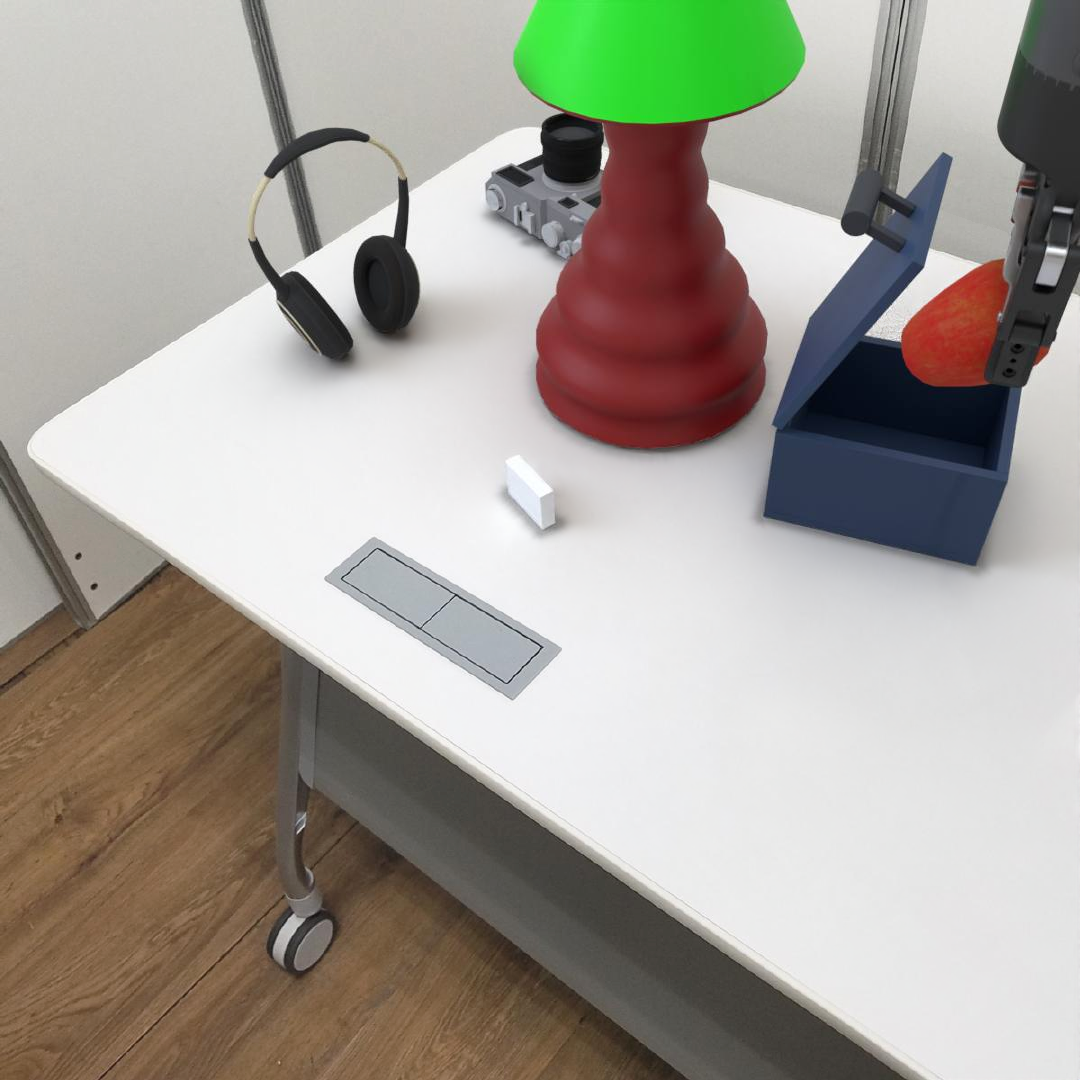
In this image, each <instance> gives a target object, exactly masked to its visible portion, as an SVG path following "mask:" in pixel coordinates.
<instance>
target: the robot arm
mask: <svg viewBox="0 0 1080 1080" xmlns="http://www.w3.org/2000/svg"><path fill="white" fill-rule="evenodd" d="M996 131H997V137H998V139H999V141H1000V143H1001V144H1002V146H1003V147H1004V148H1005V149H1006V151H1007V152H1008V153H1009V154H1010V155H1012V157H1014V158H1015V159H1017V160H1018V161H1019V162H1021V163H1022V164H1021V165H1022V166H1021V169H1020V171H1019V172H1020V173H1019V177H1018V181H1017V185H1016V190H1015V193H1017V194H1016V197H1015V200H1014V205H1013V209H1012V212H1011V217H1010V222H1011V223H1012V224H1014V226H1013V227H1012V229H1011V231H1010V232H1011V233H1010V240H1009V244H1008V248H1007V251H1006V254H1005V261H1004V265H1003V269H1002V275H1003V278H1004V280H1005V281H1006V282H1007V283H1008V284H1009V286H1008V290H1007V293H1006V297H1005V300H1004V304H1003V308H1002V311H999V313H998V316H997V321H999V323H998V326H997V330H996V332H997V333H996V336H995V339H994V342H993V345H992V348H991V351H990V354H989V357H988V360H987V364H986V367H985V372H984V379H985V380H986V381H987V382H988V383H991V384H996V385H1002V386H1007V387H1013V388H1021V387H1022V388H1024V387H1025V386H1026V385H1027V384H1028V383H1029V380H1030V377H1031V373H1032V371H1033V369H1034V367H1035V366H1034V363H1035V360H1036V358H1037V355H1038V352H1039V349H1040V347H1044V348H1050V349H1051V347H1050V346H1052V345H1053V343H1055V342H1056V339H1057V335H1058V331H1057V330H1058V329H1059V326H1060V323H1061V321H1062V318H1063V316H1064V313H1065V311H1066V308H1067V306H1068V304H1069V300H1070V298H1071V296H1072V293H1073V291H1074V288H1075V287H1076V285H1077V282H1078V279H1079V275H1080V0H1030V1H1029V5H1028V9H1027V12H1026V15H1025V20H1024V23H1023V27H1022V31H1021V34H1020V38H1019V41H1018V44H1017V49H1016V52H1015V56H1014V60H1013V63H1012V67H1011V70H1010V75H1009V77H1008V82H1007V85H1006V89H1005V92H1004V95H1003V100H1002V103H1001V107H1000V110H999V113H998V119H997V123H996ZM1033 366H1034V367H1033Z"/></svg>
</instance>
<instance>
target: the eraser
mask: <svg viewBox="0 0 1080 1080" xmlns="http://www.w3.org/2000/svg"><path fill="white" fill-rule="evenodd" d="M504 467H505V475H506V485H507V493H508V495H509V496H510V497H511V498H512V499H513V500H514V501H515V502H516V503H517V505H518V506H519V507H520V508H521V509H522V510H523V511H524V512H525V513H526V514H527V516H529V518H531V519H532V520H533V521H534V522H535V524H536V525H537V527H539V528H540V529H541V530H542V531H543V530H545V529H547V528H549V527H551V526H553V525H554V524H556V510H555V498H554V497H555V494H554V493H555V492H554V489H552V487H551V486H550V485H548V483H546V481H545V480H544V479H543V478H542V477H541V476H540V475H539V474H538V473H537V472H536V471H535V470H534V469H533V468H532V467H531V466H530V465H529V464H528V463H527V462H526V461H525V460H524V459H523V458H522V457H521V456H520V455H519V454H515V455H514V456H512V457H510V458H508V459H506V460H504Z"/></svg>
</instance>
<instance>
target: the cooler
mask: <svg viewBox="0 0 1080 1080" xmlns="http://www.w3.org/2000/svg"><path fill="white" fill-rule="evenodd" d="M1022 389H1023V387H1021V388H1013V387H1007V386H1002V385H996V384H991V383H990V384H986V385H977V386H932V385H929V384H926V383H924V382H922V381H921V380H920V379H918V378H917V377H916V376H914V375H913V374H912V373H911V371H910V370H909V369H908V367H907V366H906V363H905V361H904V358H903V353H902V348H901V341H897V340H893V339H888V338H882V337H877V336H872V335H871V336H870V335H866V334H865V335H864V337H863V338H862V339H861V340H860V341H859V342H858V343H857V344H856V346H855V347H854V348H853V349H852V350H851V351H850V352H849V354H848V355H847V356H846V357H845V358H844V359H843V360H842V362H841V363H840V364H839V365H838V366H837V367H836V368H835V370H834V371H833V372H832V373H831V374H830V375H829V376H828V377H827V379H826V380H825V381H824V382H823V383H822V384H821V385H820V387H819V388H818V389H817V390H816V391H815V392H814V393H813V395H812V396H811V397H810V398H809V399H808V400H807V401H806V402H805V404H804V405H803V406H802V407H801V408H800V409H799V410H798V412H797V413H796V414H795V415H794V416H793V417H792V418H791V420H790V421H789V422H788V423H787V424H786V425H785V426H784V428H783V429H782V430H779V429H778V428H776V430H775V433H774V439H773V440H774V441H773V447H772V453H771V460H770V466H769V467H770V468H769V474H768V482H767V488H766V494H765V501H764V509H763V517H764V518H769V519H772V520H773V519H774V520H778V521H781V522H786V523H790V524H794V525H799V526H803V527H806V528H807V527H808V528H811V529H815V530H821V531H825V532H829V533H833V534H837V535H842V536H845V537H849V538H855V539H859V540H862V541H867V542H871V543H874V544H880V545H883V546H888V547H892V548H897V549H901V550H906V551H909V552H914V553H919V554H922V555H927V556H930V557H935V558H940V559H944V560H948V561H951V562H952V561H953V562H956V563H960V564H964V565H969V566H974V567H975V566H977V563H978V561H979V558H980V555H981V553H982V550H983V547H984V545H985V542H986V539H987V537H988V535H989V532H990V530H991V527H992V524H993V522H994V520H995V516H996V514H997V511H998V509H999V506H1000V503H1001V501H1002V498H1003V496H1004V493H1005V491H1006V487H1007V485H1008V481H1009V477H1010V476H1009V475H1010V469H1011V468H1010V467H1011V464H1012V463H1011V462H1012V455H1013V451H1014V450H1013V449H1014V442H1015V435H1016V429H1017V423H1018V416H1019V409H1020V404H1021V403H1020V402H1021V396H1022Z"/></svg>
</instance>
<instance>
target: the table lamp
mask: <svg viewBox="0 0 1080 1080" xmlns="http://www.w3.org/2000/svg"><path fill="white" fill-rule="evenodd" d="M806 50H807V47H806V45H805V41H804V38H803V36H802V33H801V30H800V29H799V26H798V24H797V21H796V19H795V17H794V15H793V13H792V10H791V8H790V5H789V3H788V1H787V0H536V1H535V4H534V6H533V8H532V10H531V12H530V15H529V17H528V19H527V21H526V24H525V25H524V28H523V30H522V32H521V34H520V37H519V39H518V41H517V43H516V45H515V47H514V49H513V59H512V60H513V61H512V65H513V68H514V70H515V73H516V75H517V78H518V80H519V81H520V83H521V84H522V85H523V86H524V87H525V88H526V90H527V91H528V92H529V93H530V94H531V95H532V96H533V97H535V98H536V99H538V100H539V101H541V102H542V103H543V104H545V105H547V106H548V107H550V108H553V109H555V110H557V111H559V112H561V113H566V114H568V115H571V116H575V117H578V118H582V119H586V120H589V121H593V122H598V123H602V124H603V132H604V138H605V140H606V145H607V147H608V156H607V159H606V162H605V164H604V167H603V169H602V170H603V173H602V177H601V181H600V190H601V204H600V205H599V207H598V208H597V209H596V210H595V211H594V213H593V214H592V215H591V217H590V219H589V220H588V222H587V223H586V225H585V227H584V231H583V234H582V239H581V248H580V249H579V250H578V251H577V252H576V253H575V254H574V255H573V254H572V255H573V256H572V257H571V258H570V259H569V260H567V261H566V263H565V265H564V266H563V268H562V269H561V271H560V272H559V276H558V279H557V282H556V285H555V286H556V287H555V295H554V296H552V297H551V299H550V300H549V302H548V304H547V305H546V306H545V308H544V310H543V312H541V315H540V317H539V320H538V322H537V326H536V329H535V346H536V351H537V355H538V357H537V361H536V364H535V379H536V380H535V381H536V384H537V388H538V392H539V394H540V396H541V398H542V400H543V402H544V403H545V405H546V406H547V408H548V410H549V411H551V412H552V414H554V416H556V417H557V418H558V419H559V420H560V421H561V422H562V423H564V424H566V425H568V426H569V427H570V428H572V429H574V430H576V431H577V432H579V433H580V434H583V435H586V436H588V437H590V438H591V439H595V440H597V441H600V442H602V443H606V444H610V445H613V446H617V447H622V448H629V449H630V448H631V449H644V450H648V449H650V450H651V449H663V448H664V449H665V448H674V447H681V446H686V445H687V446H688V445H693V444H696V443H698V442H702V441H705V440H708V439H711V438H713V437H715V436H717V435H719V434H720V433H722V432H724V431H726V430H728V429H730V428H731V427H734V426H735V425H736V424H737V423H738V422H740V421H741V420H742V419H743V418H744V417H746V416H747V415H748V414H749V413H750V412H751V410H752V409H753V408H754V406H756V404H757V403H758V401H760V398H761V395H762V393H763V391H764V388H765V386H766V379H767V377H766V376H767V368H766V363H765V359H764V358H765V355H766V352H767V347H768V346H767V345H768V336H769V335H768V334H769V333H768V328H767V323H766V319H765V316H764V315H763V314H762V311H761V310H760V308H759V306H758V305H757V303H756V302H755V300H754V298H752V297H751V295H750V287H749V286H750V285H749V281H748V276H747V273H746V271H745V270H744V269H743V266H742V264H741V263H740V262H739V260H738V259H737V257H735V256H734V254H732V252H730V250H729V249H728V248H726V244H727V242H726V240H727V239H726V234H725V230H724V229H725V228H724V226H723V224H722V222H721V220H720V218H719V217H718V215H717V213H716V212H715V211H714V210H713V208H712V207H711V206H710V205H709V203H708V195H709V189H710V179H709V173H708V169H707V165H706V163H705V160H704V158H703V154H702V153H703V152H702V151H703V149H702V148H703V145H704V143H705V140H706V138H707V134H708V130H709V126H710V125H709V124H710V123H713V122H718V121H720V120H724V119H727V118H731V117H735V116H739V115H742V114H744V113H747V112H749V111H751V110H753V109H756V108H758V107H761V106H763V105H765V104H767V103H768V102H770V101H771V100H773V99H774V98H776V97H778V96H779V95H782V93H783V92H784V91H785V90H787V88H788V87H789V86H790V85H791V84H793V82H795V80H796V79H797V77H798V75H799V74H800V72H801V70H802V68H803V66H804V65H805V61H806Z"/></svg>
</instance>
